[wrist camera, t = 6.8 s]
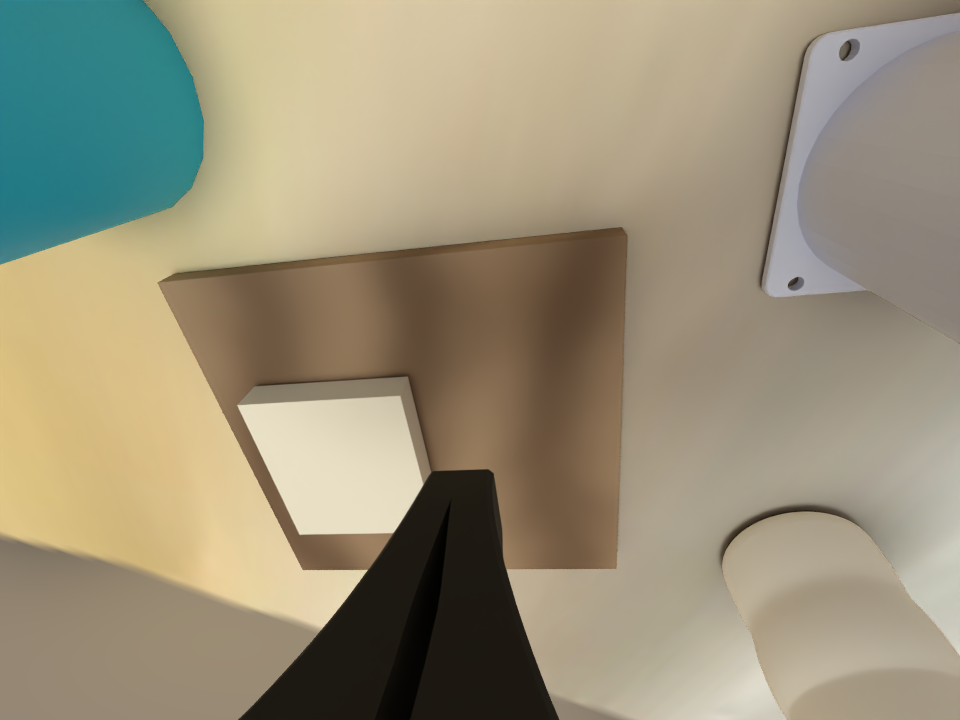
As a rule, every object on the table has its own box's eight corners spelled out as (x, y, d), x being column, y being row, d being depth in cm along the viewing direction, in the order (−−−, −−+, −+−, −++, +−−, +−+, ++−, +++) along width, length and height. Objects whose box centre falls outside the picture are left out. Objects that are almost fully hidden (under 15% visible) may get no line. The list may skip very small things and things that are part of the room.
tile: (400, 395, 18) (237, 405, 19) (435, 532, 22) (299, 534, 23) (408, 374, 19) (256, 384, 20) (441, 507, 23) (311, 510, 24)
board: (621, 227, 16) (627, 234, 16) (613, 552, 25) (616, 568, 25) (173, 273, 19) (157, 282, 18) (309, 555, 28) (302, 569, 27)
